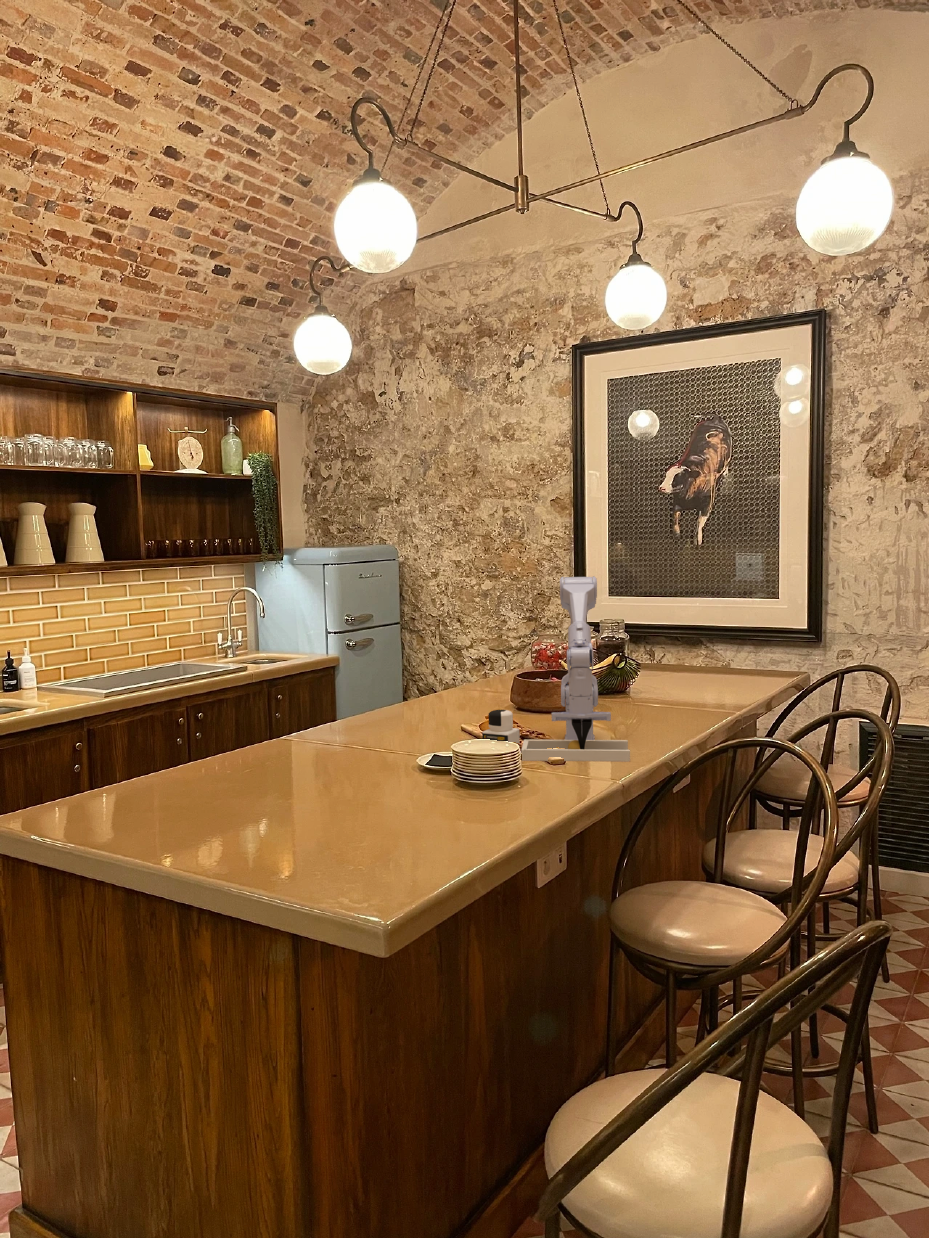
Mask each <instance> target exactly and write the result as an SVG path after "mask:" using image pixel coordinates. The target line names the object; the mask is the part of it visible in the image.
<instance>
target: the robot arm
mask: <svg viewBox="0 0 929 1238" xmlns="http://www.w3.org/2000/svg"><path fill="white" fill-rule="evenodd" d="M597 580H598V578H597V577H596V576H595V575H594V576H561V577H560V578H559V599H560V605H561V608H562V609H564V610H566V611H568V615H569V618H570V625H569V626H568V628H567V641H568V642H567V646H568V648H567V649H566V668H567V673H566V674H565V675H564V676H563V677H562V679H561V685H560V705H561V706H562V707H563V708H564V707H565V711H559V712H558V711H557V712H554V711H553V712H551V722H558V721H559V722H562V721H563V722H564V721H565V734H564V740H578V741H579V745H580V749H585V742H586V740H596V739H595V738H596V737H595V734H594V721H606V722H612V713H611V711H594V708H595V707H597V706H598V705H599V690H598V689H599V687H598V679H597V677H596V676H595V675H594V674H593V669H594V649H593V643H592V631H591V626H590V625H589V624H588V623H587V617H588V614H589V611H590V610H592V609H594V608H595V607H596V604H597V598H598V581H597Z"/></svg>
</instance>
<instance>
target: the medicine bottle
mask: <svg viewBox="0 0 929 1238" xmlns="http://www.w3.org/2000/svg"><path fill="white" fill-rule="evenodd" d="M513 717H514V714H513V712H512V711H511V710H509V709H493V710H491V711H490V712H489V713H488V729H486V730H483V731H482V733H481V738H482V739H490V740H497V741H508V742H516V743H519V744H520V740H521V739H520V729H519V728H518V727H517V728H516V727H514V722H513V719H514V718H513ZM482 739H481V740H482Z"/></svg>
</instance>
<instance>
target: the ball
mask: <svg viewBox="0 0 929 1238" xmlns="http://www.w3.org/2000/svg"><path fill="white" fill-rule="evenodd" d="M568 749H580V745H579V741H578V740H573V741H571V742H570V743H569V745H568Z"/></svg>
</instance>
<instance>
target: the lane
mask: <svg viewBox="0 0 929 1238" xmlns="http://www.w3.org/2000/svg"><path fill="white" fill-rule="evenodd" d="M571 741H573V740H565V739H523V742H522V747H521V749H520V753H521V752H522V760H521V761H524V762H525V761H526V762H530V761H531V762H537V761H538V762H549V761H548V758H549V757H561V758H564V761H563V762H622V763H623V762H625V763H626V762H627V763H628V762H629V763H630V762H631V750H630V749H629V741H628V739H595V740H586V742H585V749H568V745H569V743H570V742H571ZM556 747H559V748H565V749H553V748H556ZM547 748H552V749H547Z"/></svg>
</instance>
